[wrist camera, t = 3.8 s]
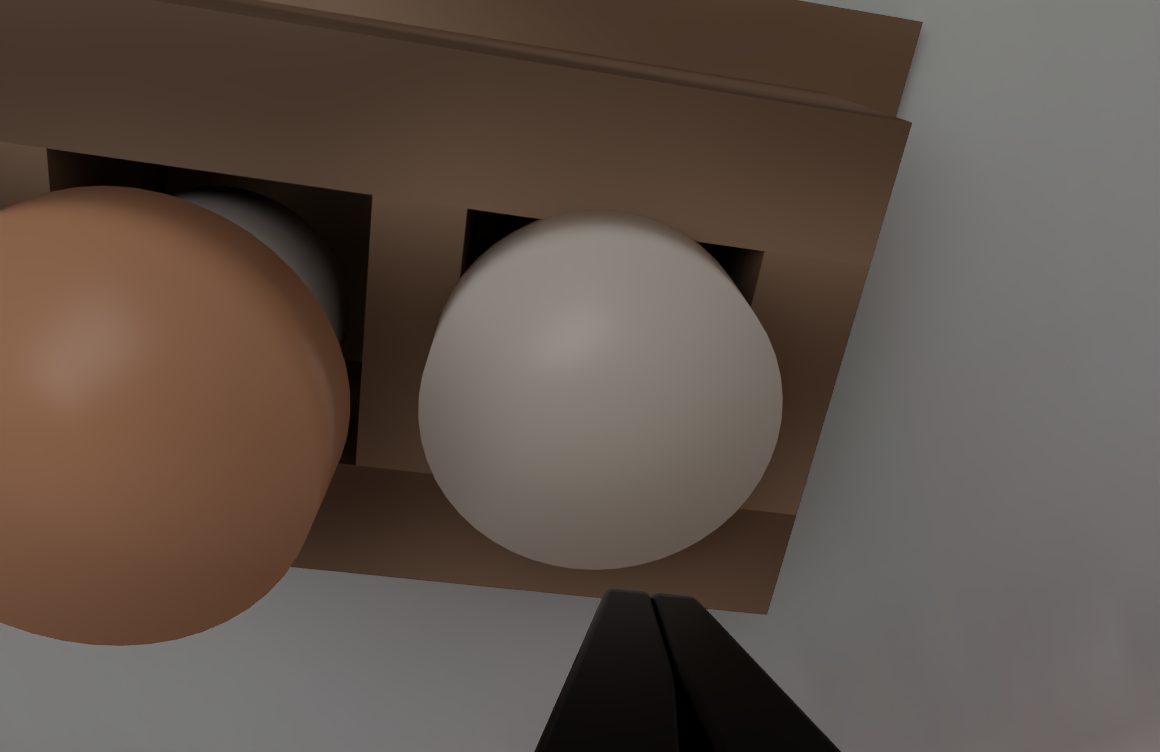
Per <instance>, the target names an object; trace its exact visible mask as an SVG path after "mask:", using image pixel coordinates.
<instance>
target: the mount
mask: <svg viewBox="0 0 1160 752" xmlns="http://www.w3.org/2000/svg"><path fill="white" fill-rule="evenodd" d="M922 23H923V22H919V21H914V20H908V19H902V18H896V17H890V16H885V15H879V14H873V13H867V12H862V11H856V10H850V9H844V8H839V7H833V6H827V5H821V4H816V3H810V2H804V1H798V0H0V210H1V209H4V208H6V207H9V206H11V205H14V204H16V203H19V202H21V201H24V200H27V199H30V198H33V197H36V196H39V195H42V194H45V193H48V192H53V191H58V190H63V189H69V188H74V187H88V186H117V187H130V188H139V189H144V190H148V191H153V192H158V193H163V194H167V195H169V194H172V193H175V192H178V191H181V190H184V189H189V188H194V187H199V186H228V187H235V188H240V189H245V190H249V191H252V192H255V193H258V194H261V195H264V196H267V197H269V198H271V199H273V200H275V201H277V202H279V203H281V204H283V205H284V206H286V207H287V208H289V209H291V210H292V211H294V212H295V213H296V214H298V215H299V216H300V217H301V218H303V219H304V220H305V221H306V222H307V223H308V224H309V225H310V226H311V227H312V228H313V229H314V230H315V231H316V232H317V233H318V234H319V235H320V236H321V238H322V239H323V240H324V241H325V243H326V244H327V245H328V247H329V248H330V250H331V252H332V253H333V255H334V257H335V258H336V260H337V262H338V265H339V267H340V269H341V271H342V274H343V277H344V280H345V284H346V287H347V293H348V299H349V322H348V330H347V334H346V337H345V341H344V344H343V346H342V348H341V351H342V354H343V358H344V361H345V364H346V369H347V375H348V381H349V387H350V419H349V427H348V434H347V439H346V442H345V445H344V449H343V452H342V456H341V458H340V461H339V463H338V465H337V468H336V470H335V472H334V475H333V477H332V479H331V482H330V484H329V486H328V489H327V491H326V494H325V496H324V498H323V501H322V503H321V505H320V508H319V510H318V512H317V515H316V517H315V519H314V522H313V524H312V526H311V529H310V531H309V533H308V535H307V537H306V540H305V542H304V544H303V546H302V548H301V550H300V552H299V554H298V556H297V558H296V559H295V560H294V562H293V563H292V565H291V566H290V567H298V568H307V569H317V570H327V571H337V572H347V573H357V574H367V575H377V576H387V577H397V578H407V579H417V580H427V581H437V582H447V583H457V584H467V585H476V586H486V587H496V588H506V589H516V590H526V591H536V592H546V593H556V594H566V595H576V596H586V597H596V598H602V597H603V595H604V593H605V591H606V590H607V589H609V588H622V589H631V590H640V591H645V592H647V593H648V594H649V595H650V596H651V595H652V594H654V593H657V592H660V593H669V594H679V595H688V596H692V597H694V598H695V599H696V600H698V601H699V602H700V603H701V605H702V606H703V607H704V608H705V609H715V610H725V611H735V612H745V613H755V614H765V615H767V612H768V609H769V606H770V602H771V599H772V596H773V592H774V589H775V585H776V582H777V579H778V575H779V572H780V568H781V565H782V562H783V558H784V555H785V551H786V548H787V545H788V541H789V538H790V535H791V531H792V528H793V524H794V521H795V518H796V514H797V511H798V507H799V504H800V501H801V497H802V494H803V490H804V487H805V484H806V480H807V477H808V474H809V470H810V467H811V463H812V460H813V457H814V453H815V450H816V446H817V443H818V440H819V436H820V433H821V430H822V426H823V423H824V419H825V416H826V413H827V409H828V406H829V402H830V399H831V396H832V392H833V389H834V385H835V382H836V379H837V375H838V372H839V369H840V365H841V362H842V358H843V355H844V352H845V348H846V345H847V341H848V338H849V335H850V331H851V328H852V324H853V321H854V318H855V314H856V311H857V308H858V304H859V301H860V297H861V294H862V291H863V287H864V284H865V280H866V277H867V274H868V270H869V267H870V263H871V260H872V257H873V253H874V250H875V247H876V243H877V240H878V236H879V233H880V230H881V226H882V223H883V219H884V216H885V213H886V209H887V206H888V203H889V199H890V196H891V192H892V189H893V186H894V182H895V179H896V175H897V172H898V169H899V165H900V162H901V158H902V155H903V152H904V148H905V145H906V142H907V138H908V135H909V131H910V128H911V125H912V123H911V122H908V121H905V120H902V119H899V118H896V114H897V110H898V107H899V103H900V100H901V96H902V93H903V89H904V86H905V83H906V79H907V76H908V72H909V69H910V65H911V62H912V58H913V55H914V51H915V48H916V44H917V41H918V37H919V34H920V30H921V27H922ZM590 210H606V211H619V212H626V213H630V214H635V215H640V216H644V217H647V218H650V219H653V220H655V221H658V222H661V223H664V224H666V225H668V226H670V227H672V228H674V229H676V230H678V231H680V232H682V233H683V234H685V235H687V236H688V237H689V238H691V239H692V240H694V241H695V242H696V243H698V244H699V245H701V246H702V247H703V248H704V249H705V250H706V251H707V252H708V253H709V254H711V255H712V256H713V257H714V258H715V259H716V260H717V261H718V262H719V264H720V265H721V266H722V267H723V269H724V270H725V271H726V272H727V274H728V275H729V276H730V278H731V279H732V281H733V282H734V284H735V285H736V286H737V288H738V289H739V291H740V292H741V294H742V295H743V297H744V298H745V300H746V301H747V303H748V304H749V306H750V307H751V309H752V310H753V312H754V313H755V315H756V316H757V318H758V320H759V321H760V323H761V325H762V327H763V328H764V330H765V332H766V333H767V335H768V338H769V340H770V342H771V345H772V347H773V350H774V352H775V355H776V359H777V363H778V367H779V371H780V375H781V384H782V395H783V403H782V420H781V425H780V430H779V435H778V440H777V443H776V446H775V449H774V452H773V454H772V457H771V460H770V462H769V464H768V466H767V468H766V470H765V472H764V474H763V476H762V478H761V480H760V481H759V483H758V484H757V486H756V487H755V489H754V490H753V492H752V493H751V494H750V496H749V497H748V499H747V500H746V501H745V502H744V503H743V504H742V505H741V506H740V508H739V509H738V510H737V511H736V512H735V513H734V514H733V515H732V516H731V517H730V518H729V519H727V520H726V521H725V522H724V523H723V524H722V525H721V526H720V527H719V528H717V529H716V530H714V531H713V532H711V533H710V534H709V535H707V536H706V537H704V538H703V539H701V540H700V541H698V542H696V543H694V544H693V545H691V546H689V547H687V548H685V549H683V550H681V551H679V552H677V553H674V554H672V555H669V556H667V557H664V558H662V559H659V560H655V561H652V562H648V563H645V564H641V565H636V566H630V567H624V568H619V569H603V570H588V569H572V568H566V567H560V566H553V565H549V564H546V563H542V562H539V561H535V560H532V559H529V558H527V557H524V556H522V555H519V554H517V553H514V552H512V551H510V550H508V549H506V548H504V547H503V546H501V545H499V544H497V543H495V542H494V541H492V540H491V539H489V538H488V537H486V536H485V535H484V534H482V533H481V532H480V531H478V530H477V529H475V528H474V527H473V526H472V525H471V524H470V523H469V522H468V521H467V520H466V519H465V518H464V517H463V516H461V515H460V513H459V512H458V511H457V510H456V509H455V507H454V506H453V505H452V504H451V503H450V501H449V500H448V499H447V498H446V496H445V494H444V493H443V491H442V490H441V488H440V486H439V485H438V483H437V482H436V480H435V478H434V475H433V473H432V471H431V469H430V466H429V464H428V462H427V459H426V456H425V452H424V448H423V445H422V441H421V435H420V428H419V420H418V411H419V392H420V386H421V380H422V375H423V371H424V368H425V365H426V362H427V358H428V355H429V352H430V349H431V345H432V342H433V339H434V336H435V332H436V329H437V326H438V323H439V320H440V317H441V314H442V310H443V308H444V306H445V304H446V302H447V300H448V298H449V296H450V294H451V292H452V290H453V289H454V287H455V286H456V284H457V283H458V281H459V280H460V278H461V277H462V275H463V274H464V273H465V272H466V270H467V269H468V268H469V267H470V266H471V265H472V264H473V263H474V262H475V260H476V259H477V258H478V257H479V256H481V255H482V254H483V253H484V252H485V251H486V250H488V249H489V248H490V247H491V246H492V245H493V244H495V243H496V242H498V241H499V240H501V239H503V238H504V237H506V236H507V235H509V234H510V233H512V232H513V231H516V230H518V229H520V228H522V227H524V226H525V225H526V224H527V223H529V222H531V221H532V220H534V219H535V218H536V219H545V218H548V217H551V216H554V215H559V214H564V213H570V212H575V211H590Z"/></svg>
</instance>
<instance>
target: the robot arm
mask: <svg viewBox="0 0 1160 752" xmlns="http://www.w3.org/2000/svg"><path fill="white" fill-rule="evenodd" d="M535 752H841V751H840V750H839V749H838V748H837V747H836V746H835V745H834V744H833V743H832V742H831V741H830V740H829V738H828V737H827V736H826V735H825V734H824V733H823V732H822V731H821V730H820V729H819V728H818V727H817V726H816V725H815V724H814V723H813V722H812V721H811V719H810V718H809V717H808V716H807V715H806V714H805V713H804V712H803V711H802V710H801V709H800V708H799V707H798V706H797V705H796V704H795V703H794V702H793V700H792V699H791V698H790V697H789V696H788V695H787V694H786V693H785V692H784V691H783V690H782V689H781V688H780V687H779V686H778V685H777V684H776V683H775V681H774V680H773V679H772V678H771V677H770V676H769V675H768V674H767V673H766V672H765V671H764V670H763V669H762V668H761V667H760V666H759V665H758V664H757V663H756V661H755V660H754V659H753V658H752V657H751V656H750V655H749V654H748V653H747V652H746V651H745V650H744V649H743V648H742V647H741V646H740V645H739V644H738V642H737V641H736V640H735V639H734V638H733V637H732V636H731V635H730V634H729V633H728V632H727V631H726V630H725V629H724V628H723V627H722V626H721V625H720V623H719V622H718V621H717V620H716V619H715V618H714V617H713V616H712V615H711V614H710V613H709V612H708V611H707V610H706V609H705V608H704V607H703V606H702V605H701V603H700V602H699V601H698V600H696V599H695V598H694V597H692V596H688V595H679V594H669V593H660V592H657V593H654V594H652V595H651V596H650V595H649V594H648V593H647V592H645V591H640V590H631V589H622V588H609V589H607V590H606V591H605V593H604V595H603V597H602V600H601V602H600V604H599V606H598V609H597V611H596V613H595V615H594V618H593V620H592V622H591V625H590V627H589V629H588V631H587V634H586V636H585V638H584V640H583V643H582V645H581V647H580V650H579V652H578V654H577V656H576V659H575V661H574V663H573V665H572V668H571V670H570V672H569V674H568V677H567V679H566V681H565V684H564V686H563V688H562V690H561V693H560V695H559V697H558V699H557V702H556V704H555V706H554V708H553V711H552V713H551V715H550V718H549V720H548V722H547V724H546V727H545V729H544V731H543V733H542V736H541V738H540V740H539V742H538V745H537V747H536V749H535Z"/></svg>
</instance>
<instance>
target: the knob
mask: <svg viewBox="0 0 1160 752" xmlns="http://www.w3.org/2000/svg"><path fill="white" fill-rule="evenodd" d="M782 403H783V395H782V384H781V375H780V371H779V367H778V363H777V359H776V355H775V352H774V350H773V347H772V345H771V342H770V340H769V338H768V335H767V333H766V332H765V330H764V328H763V327H762V325H761V323H760V321H759V320H758V318H757V316H756V315H755V313H754V312H753V310H752V309H751V307H750V306H749V304H748V303H747V301H746V300H745V298H744V297H743V295H742V294H741V292H740V291H739V289H738V288H737V286H736V285H735V284H734V282H733V281H732V279H731V278H730V276H729V275H728V274H727V272H726V271H725V270H724V269H723V267H722V266H721V265H720V264H719V262H718V261H717V260H716V259H715V258H714V257H713V256H712V255H711V254H709V253H708V252H707V251H706V250H705V249H704V248H703V247H702V246H701V245H699V244H698V243H696V242H695V241H694V240H692V239H691V238H689V237H688V236H687V235H685V234H683V233H682V232H680V231H678V230H676V229H674V228H672V227H670V226H668V225H666V224H664V223H661V222H658V221H655V220H653V219H650V218H647V217H644V216H640V215H635V214H630V213H626V212H619V211H606V210H590V211H575V212H570V213H564V214H559V215H554V216H551V217H548V218H545V219H536V218H535V219H534V220H532V221H531V222H529V223H527V224H526V225H525V226H524V227H522V228H520V229H518V230H516V231H513V232H512V233H510V234H509V235H507V236H506V237H504V238H503V239H501V240H499V241H498V242H496V243H495V244H493V245H492V246H491V247H490V248H489V249H488V250H486V251H485V252H484V253H483V254H482V255H481V256H479V257H478V258H477V259H476V260H475V262H474V263H473V264H472V265H471V266H470V267H469V268H468V269H467V270H466V272H465V273H464V274H463V275H462V277H461V278H460V280H459V281H458V283H457V284H456V286H455V287H454V289H453V290H452V292H451V294H450V296H449V298H448V300H447V302H446V304H445V306H444V308H443V310H442V314H441V317H440V320H439V323H438V326H437V329H436V332H435V336H434V339H433V342H432V345H431V349H430V352H429V355H428V358H427V362H426V365H425V368H424V371H423V375H422V380H421V386H420V392H419V411H418V420H419V428H420V435H421V441H422V445H423V448H424V452H425V456H426V459H427V462H428V464H429V466H430V469H431V471H432V473H433V475H434V478H435V480H436V482H437V483H438V485H439V486H440V488H441V490H442V491H443V493H444V494H445V496H446V498H447V499H448V500H449V501H450V503H451V504H452V505H453V506H454V507H455V509H456V510H457V511H458V512H459V513H460V515H461V516H463V517H464V518H465V519H466V520H467V521H468V522H469V523H470V524H471V525H472V526H473V527H474V528H475V529H477V530H478V531H480V532H481V533H482V534H484V535H485V536H486V537H488V538H489V539H491V540H492V541H494V542H495V543H497V544H499V545H501V546H503V547H504V548H506V549H508V550H510V551H512V552H514V553H517V554H519V555H522V556H524V557H527V558H529V559H532V560H535V561H539V562H542V563H546V564H549V565H553V566H560V567H566V568H572V569H588V570H603V569H619V568H624V567H630V566H636V565H641V564H645V563H648V562H652V561H655V560H659V559H662V558H664V557H667V556H669V555H672V554H674V553H677V552H679V551H681V550H683V549H685V548H687V547H689V546H691V545H693V544H694V543H696V542H698V541H700V540H701V539H703V538H704V537H706V536H707V535H709V534H710V533H711V532H713V531H714V530H716V529H717V528H719V527H720V526H721V525H722V524H723V523H724V522H725V521H726V520H727V519H729V518H730V517H731V516H732V515H733V514H734V513H735V512H736V511H737V510H738V509H739V508H740V506H741V505H742V504H743V503H744V502H745V501H746V500H747V499H748V497H749V496H750V494H751V493H752V492H753V490H754V489H755V487H756V486H757V484H758V483H759V481H760V480H761V478H762V476H763V474H764V472H765V470H766V468H767V466H768V464H769V462H770V460H771V457H772V454H773V452H774V449H775V446H776V443H777V440H778V435H779V430H780V425H781V420H782Z"/></svg>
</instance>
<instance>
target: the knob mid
mask: <svg viewBox="0 0 1160 752" xmlns="http://www.w3.org/2000/svg"><path fill="white" fill-rule="evenodd" d="M348 322H349V299H348V293H347V287H346V284H345V280H344V277H343V274H342V271H341V269H340V267H339V265H338V262H337V260H336V258H335V257H334V255H333V253H332V252H331V250H330V248H329V247H328V245H327V244H326V243H325V241H324V240H323V239H322V238H321V236H320V235H319V234H318V233H317V232H316V231H315V230H314V229H313V228H312V227H311V226H310V225H309V224H308V223H307V222H306V221H305V220H304V219H303V218H301V217H300V216H299V215H298V214H296V213H295V212H294V211H292V210H291V209H289V208H287V207H286V206H284V205H283V204H281V203H279V202H277V201H275V200H273V199H271V198H269V197H267V196H264V195H261V194H258V193H255V192H252V191H249V190H245V189H240V188H235V187H228V186H199V187H194V188H189V189H184V190H181V191H178V192H175V193H172V194H169V195H167V194H163V193H158V192H153V191H148V190H144V189H139V188H130V187H117V186H88V187H74V188H69V189H63V190H58V191H53V192H48V193H45V194H42V195H39V196H36V197H33V198H30V199H27V200H24V201H21V202H19V203H16V204H14V205H11V206H9V207H6V208H4V209H1V210H0V622H1V623H4V624H7V625H10V626H13V627H16V628H18V629H21V630H24V631H27V632H30V633H33V634H38V635H42V636H46V637H50V638H55V639H59V640H63V641H71V642H78V643H85V644H93V645H117V646H123V645H140V644H152V643H158V642H164V641H169V640H175V639H179V638H183V637H186V636H190V635H193V634H196V633H200V632H203V631H205V630H208V629H210V628H212V627H215V626H217V625H219V624H222V623H224V622H226V621H228V620H230V619H231V618H233V617H235V616H237V615H238V614H240V613H242V612H243V611H245V610H247V609H248V608H250V607H251V606H252V605H253V604H255V603H256V602H257V601H258V600H260V599H261V598H262V597H263V596H265V595H266V594H267V593H268V592H269V591H270V590H271V589H272V588H273V587H274V586H275V585H276V584H277V583H278V582H279V581H280V579H281V578H282V577H283V576H284V575H285V574H286V572H287V571H288V569H289V568H290V566H291V565H292V563H293V562H294V560H295V559H296V558H297V556H298V554H299V552H300V550H301V548H302V546H303V544H304V542H305V540H306V537H307V535H308V533H309V531H310V529H311V526H312V524H313V522H314V519H315V517H316V515H317V512H318V510H319V508H320V505H321V503H322V501H323V498H324V496H325V494H326V491H327V489H328V486H329V484H330V482H331V479H332V477H333V475H334V472H335V470H336V468H337V465H338V463H339V461H340V458H341V456H342V452H343V449H344V445H345V442H346V439H347V434H348V427H349V419H350V387H349V381H348V375H347V369H346V364H345V361H344V358H343V354H342V351H341V348H342V346H343V344H344V341H345V337H346V334H347V330H348Z"/></svg>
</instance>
